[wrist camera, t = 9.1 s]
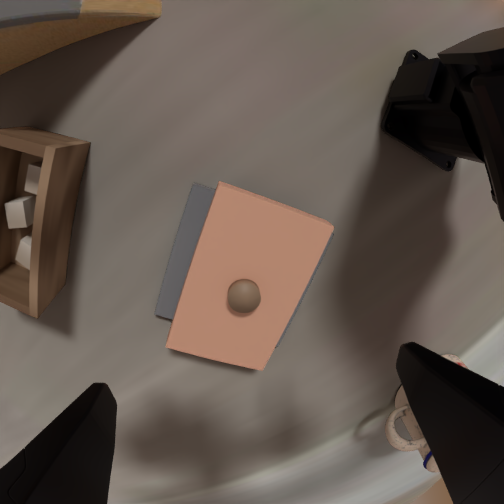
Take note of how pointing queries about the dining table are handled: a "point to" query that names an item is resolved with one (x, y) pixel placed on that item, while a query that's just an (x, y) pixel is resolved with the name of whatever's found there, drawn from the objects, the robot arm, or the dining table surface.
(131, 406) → the dining table surface
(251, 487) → the dining table surface
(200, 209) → the coaster
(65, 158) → the tea box
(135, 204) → the dining table surface
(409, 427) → the white printed mug
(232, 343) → the lid
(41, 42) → the sandwich container
